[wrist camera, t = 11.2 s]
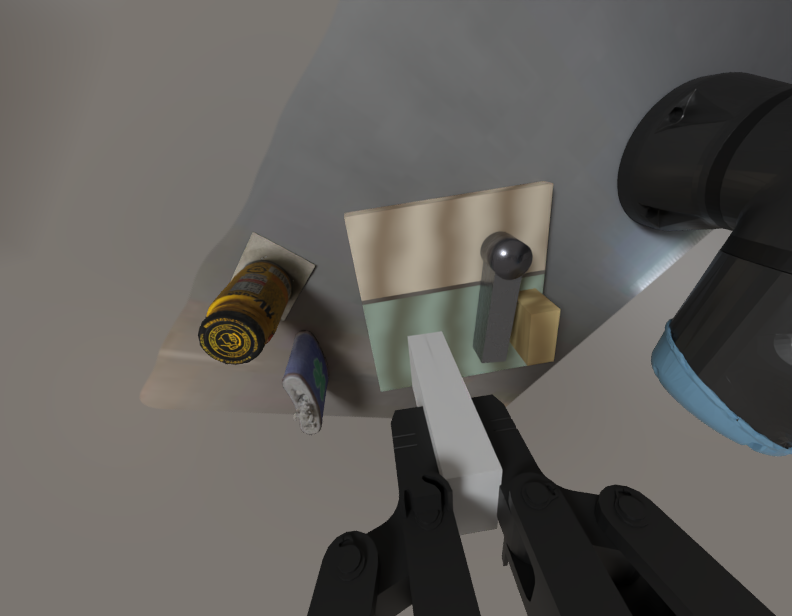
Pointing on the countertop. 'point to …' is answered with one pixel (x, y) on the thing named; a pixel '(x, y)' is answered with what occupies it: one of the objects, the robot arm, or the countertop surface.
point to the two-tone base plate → (449, 276)
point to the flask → (307, 381)
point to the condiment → (253, 302)
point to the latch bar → (499, 294)
